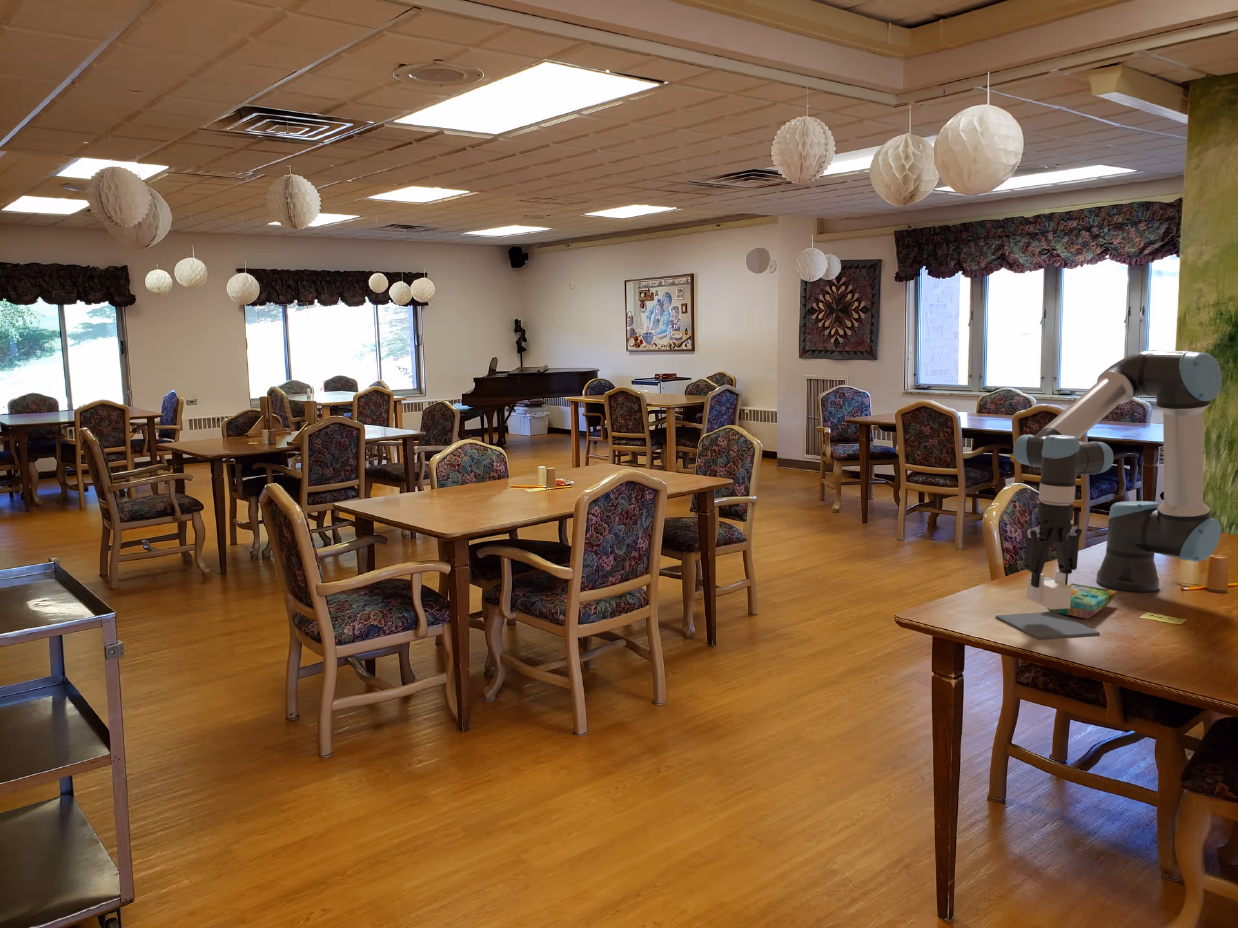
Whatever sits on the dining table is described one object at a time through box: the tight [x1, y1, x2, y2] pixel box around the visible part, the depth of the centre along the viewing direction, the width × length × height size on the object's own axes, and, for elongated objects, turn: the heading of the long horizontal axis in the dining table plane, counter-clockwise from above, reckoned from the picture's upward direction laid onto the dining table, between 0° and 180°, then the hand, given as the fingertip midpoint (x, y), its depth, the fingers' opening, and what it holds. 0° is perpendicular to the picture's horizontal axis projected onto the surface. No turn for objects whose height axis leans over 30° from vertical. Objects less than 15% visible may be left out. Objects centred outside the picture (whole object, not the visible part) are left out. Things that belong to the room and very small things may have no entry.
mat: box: [995, 611, 1101, 640], centre depth 221 cm, size 16×16×1 cm
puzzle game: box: [1046, 582, 1118, 620], centre depth 234 cm, size 12×5×20 cm
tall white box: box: [1025, 576, 1072, 609], centre depth 219 cm, size 9×5×5 cm, turn 12°
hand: (1047, 599), depth 220 cm, fingers closed on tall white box, 5 cm apart
